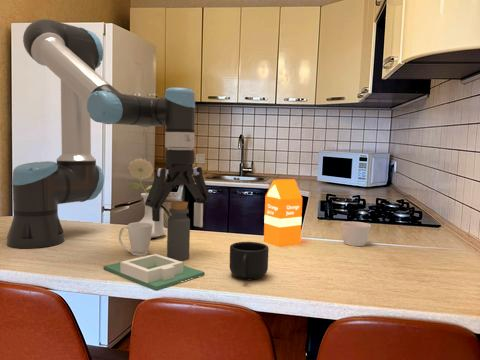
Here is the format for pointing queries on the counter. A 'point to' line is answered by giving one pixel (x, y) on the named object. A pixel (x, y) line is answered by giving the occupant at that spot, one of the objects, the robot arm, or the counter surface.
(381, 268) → the counter surface
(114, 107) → the robot arm
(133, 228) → the cup
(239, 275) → the mug
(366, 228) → the candle
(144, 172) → the flower in vase
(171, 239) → the bottle
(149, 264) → the board
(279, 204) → the orange juice
